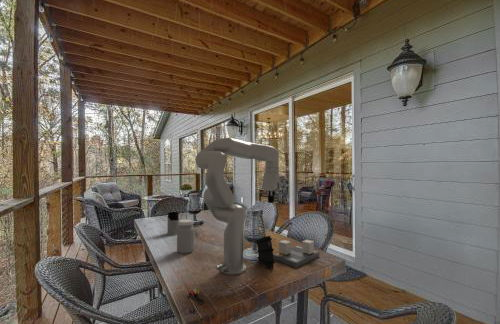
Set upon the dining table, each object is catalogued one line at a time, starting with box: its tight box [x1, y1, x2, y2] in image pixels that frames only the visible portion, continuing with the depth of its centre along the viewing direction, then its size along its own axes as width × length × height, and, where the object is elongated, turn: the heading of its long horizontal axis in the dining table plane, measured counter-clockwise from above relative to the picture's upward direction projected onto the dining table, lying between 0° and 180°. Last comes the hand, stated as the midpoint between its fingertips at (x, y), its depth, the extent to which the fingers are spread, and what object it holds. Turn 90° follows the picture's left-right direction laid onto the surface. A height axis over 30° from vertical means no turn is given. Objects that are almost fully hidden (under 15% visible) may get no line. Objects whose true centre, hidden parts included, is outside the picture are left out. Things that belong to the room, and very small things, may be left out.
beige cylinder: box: [302, 239, 315, 254], centre depth 137 cm, size 4×4×6 cm
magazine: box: [255, 235, 276, 270], centre depth 128 cm, size 4×13×15 cm, turn 26°
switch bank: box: [273, 245, 320, 268], centre depth 137 cm, size 22×15×3 cm
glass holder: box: [166, 211, 188, 236], centre depth 183 cm, size 9×14×15 cm, turn 115°
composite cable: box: [187, 287, 205, 306], centre depth 95 cm, size 10×5×2 cm, turn 28°
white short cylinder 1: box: [278, 239, 292, 255], centre depth 136 cm, size 4×4×6 cm
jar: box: [176, 218, 195, 255], centre depth 145 cm, size 10×10×18 cm
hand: (270, 202), depth 143 cm, fingers closed
